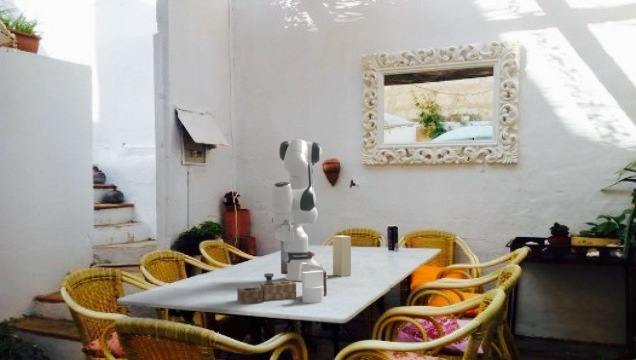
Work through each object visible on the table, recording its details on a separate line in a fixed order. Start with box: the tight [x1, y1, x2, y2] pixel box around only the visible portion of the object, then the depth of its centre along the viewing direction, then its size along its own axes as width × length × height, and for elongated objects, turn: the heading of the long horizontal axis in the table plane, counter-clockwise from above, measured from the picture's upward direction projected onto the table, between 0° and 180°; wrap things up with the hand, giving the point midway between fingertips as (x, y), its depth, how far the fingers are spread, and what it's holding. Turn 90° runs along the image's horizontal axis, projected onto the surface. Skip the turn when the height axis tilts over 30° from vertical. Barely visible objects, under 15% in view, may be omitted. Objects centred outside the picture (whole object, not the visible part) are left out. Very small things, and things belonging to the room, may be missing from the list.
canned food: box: [309, 268, 328, 297], centre depth 230 cm, size 8×8×11 cm
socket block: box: [259, 280, 297, 301], centre depth 227 cm, size 14×8×6 cm, turn 108°
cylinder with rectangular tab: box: [301, 270, 325, 304], centre depth 220 cm, size 9×9×12 cm
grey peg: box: [280, 241, 288, 275], centre depth 229 cm, size 3×3×14 cm
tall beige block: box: [332, 234, 352, 277], centre depth 282 cm, size 8×7×21 cm
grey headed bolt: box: [263, 272, 274, 285], centre depth 226 cm, size 4×4×8 cm
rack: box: [236, 286, 264, 305], centre depth 220 cm, size 9×9×5 cm
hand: (284, 251), depth 229 cm, fingers closed on grey peg, 3 cm apart
